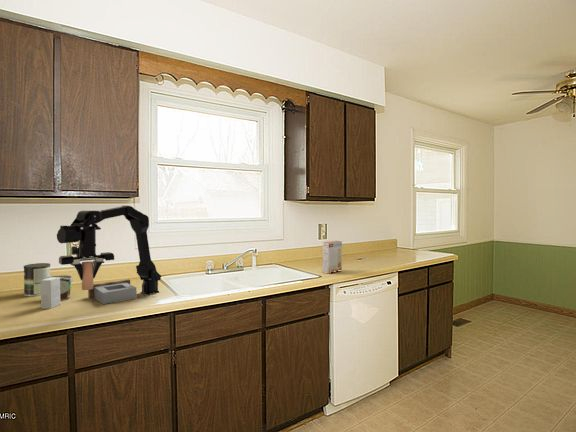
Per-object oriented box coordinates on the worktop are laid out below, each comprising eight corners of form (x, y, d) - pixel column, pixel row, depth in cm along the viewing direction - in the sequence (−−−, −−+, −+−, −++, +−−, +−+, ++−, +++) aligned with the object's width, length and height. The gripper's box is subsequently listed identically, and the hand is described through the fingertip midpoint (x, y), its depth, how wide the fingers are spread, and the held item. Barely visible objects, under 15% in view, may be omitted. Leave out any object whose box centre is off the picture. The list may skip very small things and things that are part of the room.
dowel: (91, 287, 135) (91, 261, 135) (94, 288, 132) (94, 262, 132) (80, 288, 132) (80, 262, 132) (83, 290, 129) (83, 263, 129)
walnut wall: (128, 290, 164) (128, 279, 163) (130, 291, 162) (130, 279, 162) (88, 297, 151) (88, 284, 151) (89, 298, 149) (89, 285, 149)
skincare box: (50, 304, 140) (50, 277, 139) (60, 304, 140) (60, 277, 140) (40, 308, 134) (40, 280, 133) (51, 308, 134) (50, 280, 134)
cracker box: (335, 270, 226) (335, 240, 226) (342, 271, 222) (342, 241, 221) (321, 272, 217) (322, 241, 216) (328, 274, 212) (329, 242, 212)
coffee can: (20, 297, 150) (19, 267, 150) (28, 291, 160) (28, 263, 159) (46, 295, 154) (46, 266, 154) (53, 290, 163) (53, 262, 163)
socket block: (126, 292, 161) (126, 282, 161) (136, 298, 151) (136, 287, 151) (94, 297, 151) (94, 287, 151) (103, 304, 141) (103, 292, 141)
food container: (79, 295, 154) (78, 275, 153) (70, 299, 147) (70, 277, 147) (52, 295, 153) (52, 274, 153) (43, 299, 147) (43, 277, 147)
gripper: (106, 238, 144) (106, 273, 145) (55, 241, 131) (56, 279, 131) (114, 240, 136) (114, 277, 137) (61, 243, 123) (61, 283, 123)
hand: (87, 279), depth 132 cm, fingers closed on dowel, 4 cm apart
